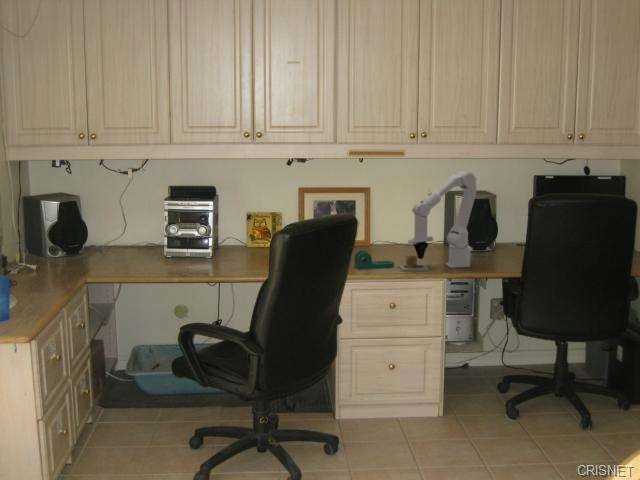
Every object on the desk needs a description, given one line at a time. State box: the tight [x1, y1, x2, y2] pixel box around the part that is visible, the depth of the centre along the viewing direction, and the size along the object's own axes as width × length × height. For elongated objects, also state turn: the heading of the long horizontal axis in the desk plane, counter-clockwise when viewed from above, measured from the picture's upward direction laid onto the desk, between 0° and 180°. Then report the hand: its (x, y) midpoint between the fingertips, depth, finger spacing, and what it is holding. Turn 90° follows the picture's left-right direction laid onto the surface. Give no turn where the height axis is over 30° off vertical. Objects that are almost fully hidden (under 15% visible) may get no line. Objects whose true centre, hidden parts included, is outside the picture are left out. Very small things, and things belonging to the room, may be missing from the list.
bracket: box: [354, 249, 395, 270], centre depth 322 cm, size 18×7×8 cm, turn 98°
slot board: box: [398, 263, 430, 273], centre depth 318 cm, size 12×9×1 cm
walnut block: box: [405, 255, 418, 268], centre depth 318 cm, size 4×4×6 cm
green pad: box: [417, 262, 431, 267], centre depth 327 cm, size 6×6×1 cm
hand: (420, 258), depth 318 cm, fingers closed
